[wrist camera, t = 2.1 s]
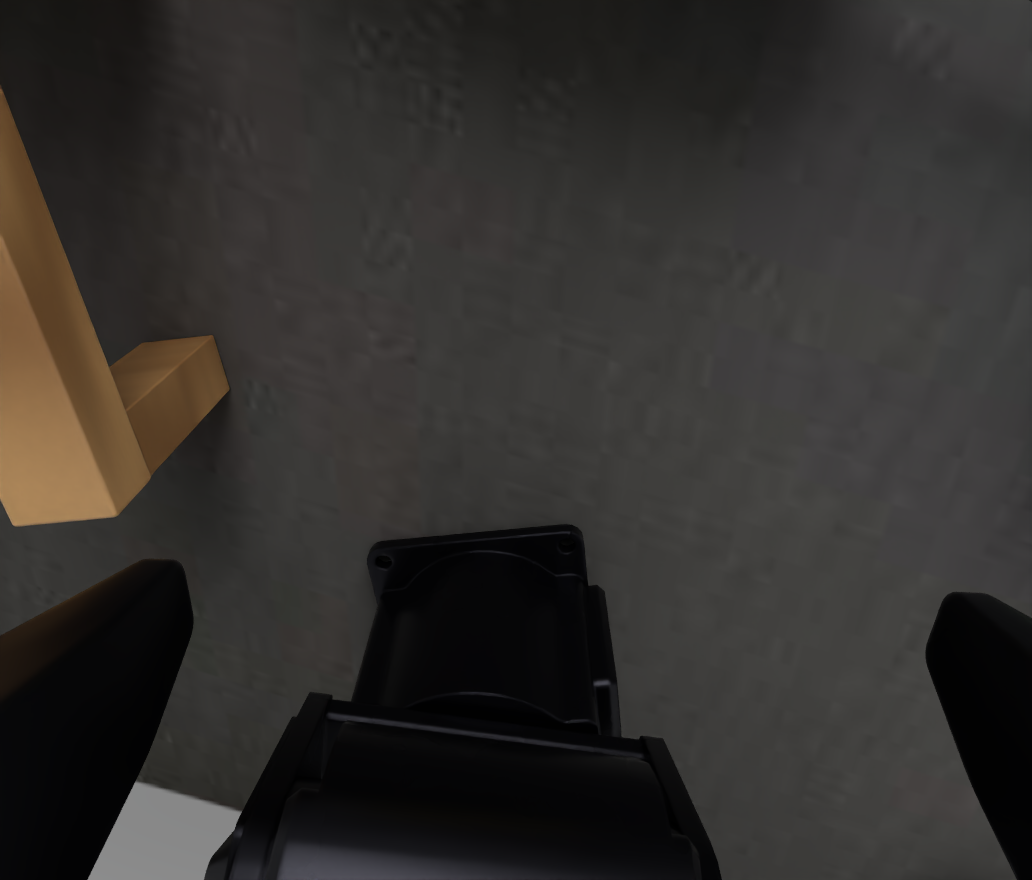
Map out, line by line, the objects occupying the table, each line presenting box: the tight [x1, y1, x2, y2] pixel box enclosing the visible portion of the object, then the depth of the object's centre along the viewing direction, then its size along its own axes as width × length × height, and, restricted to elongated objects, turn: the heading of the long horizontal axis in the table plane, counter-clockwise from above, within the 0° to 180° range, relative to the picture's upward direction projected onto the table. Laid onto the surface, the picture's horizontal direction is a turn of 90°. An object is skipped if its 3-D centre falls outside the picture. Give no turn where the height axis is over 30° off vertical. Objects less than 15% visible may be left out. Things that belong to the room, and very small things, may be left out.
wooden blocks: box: [0, 85, 230, 527], centre depth 15 cm, size 15×5×7 cm, turn 7°
